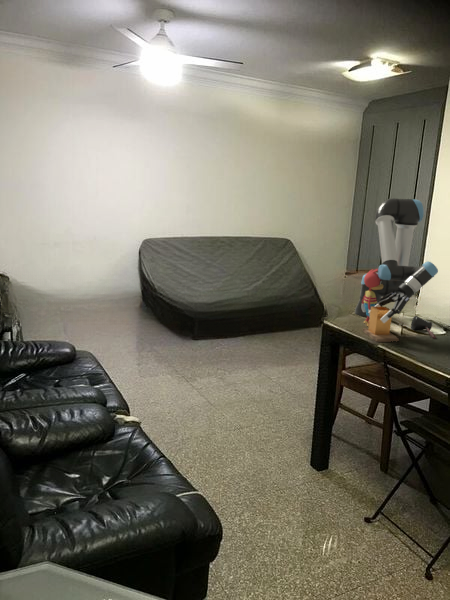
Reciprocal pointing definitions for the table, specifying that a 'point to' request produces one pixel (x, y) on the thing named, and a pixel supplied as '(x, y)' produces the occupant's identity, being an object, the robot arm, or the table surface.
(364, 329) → the post
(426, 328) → the pink handled mallet
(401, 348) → the table surface
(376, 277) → the toy
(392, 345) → the table surface
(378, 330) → the frame
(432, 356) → the table surface
